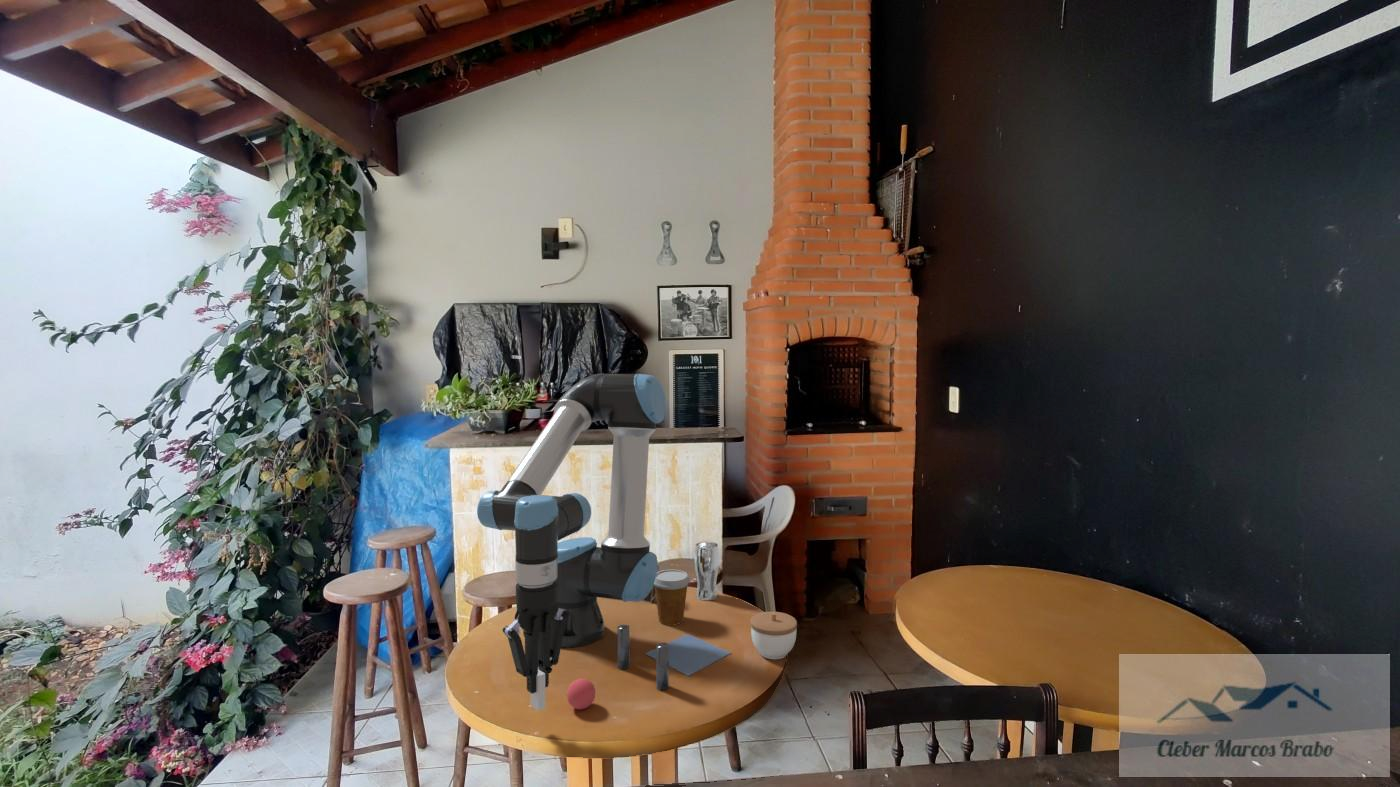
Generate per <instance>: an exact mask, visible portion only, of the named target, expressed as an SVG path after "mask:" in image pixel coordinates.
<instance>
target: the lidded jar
mask: <svg viewBox="0 0 1400 787" xmlns="http://www.w3.org/2000/svg"><path fill="white" fill-rule="evenodd" d="M749 621H750V634H751V640H752V643H753V646H754V647H755V649H756V651H758V652H759V653H760V655H761V656H762V657H763V658H764V659H768V660H781V659H784V658H785V657H786V656H787V655H788V654H789V653H790V652H791V651H792V650H793V648H794V646H795V642H796V639H797V628H798V621H797V618H795V617H794V616H792V615H790V614H788V613H786V612H780V611H763V612H758V613H756V614H754V615H753V616H752V617H751V618H750V620H749Z"/></svg>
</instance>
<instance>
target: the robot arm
mask: <svg viewBox="0 0 1400 787" xmlns="http://www.w3.org/2000/svg"><path fill="white" fill-rule="evenodd" d="M666 404H667V403H666V396H665V391H664V388H663V385H662V384H661V382H660V380H659V379H658V377H656V376H654V375H651V374H644V373H597V374H596V373H595V374H591V375H589V376H587V377H585V378H583V379H581V380H579V381H578V382H576V383H575V384H573V386H571V387H570V388H569V389H567V390H566V392H565V393H563V395H562V396H561V397H560V398H559V399H558V401H557V402H556V404H554V407H553V415H552V417H551V418H550V419H549V421H548V423H547V424H546V425H545V427H544V428H543V429H542V430H541V432H540V434H539V436H537V438H536V439H535V441H534V442H533V444H532V445H531V447H530V448H529V449H528V451H527V453H526V454H525V455H524V456H523V459H522V460H521V461H520V462H519V464H518V465H517V467H516V468H515V469H514V471H513V472H512V474H510V477H508V479H507V481H506V483H505V484H504V485H503V487H502V488H501V490H490V491H487V492H486V493H483V495H481V497H480V498H479V501H478V503H477V510H476V514H477V518H478V520H479V522H480V524H481V526H483V527H486V528H490V529H495V530H498V531H503V530H504V531H513V532H514V536H515V537H514V538H515V575H514V576H515V578H514V579H515V580H514V581H515V582H516V584H515V605H516V612H515V615H514V620H513V621H512V623H510V625H505V626H503V628H502V632H503V634H504V635H505V636H506V637H507V639H508V643H509V647H510V650H511V655H512V659H513V663H514V666H515V671H516V673H517V674H520V675H521V677H524V678H526V690H527V692H528V693H529V695H530V697H529V699H530V700H529V701H530V702H529V704H530V706H531V707H532V708H534V709H535V710H536V711H537V712H539V711H542V710H544V709H546V689H547V688H548V686H549V683H550V682H549V681H550V680H549V676H550V674H551V673H552V672H553V668H552V667H553V666H557V664H558V663H559V658H560V655H561V654H560V653H561V649H562V648H572V647H573V648H575V647H581V646H585V645H589V644H592V643H593V642H596V641H598V640H599V639H601V637H603V635H604V634H605V621H604V618H603V615H602V614H603V613H602V612H601V609H600V607H599V603H598V598H601V599H609V600H615V601H622V602H624V603H625V602H626V603H627V602H635V603H640V602H643V601H642V600H644V599H645V598H646V597H647V596H648V594H649V593H650V591H651V589H652V587H653V584H654V582H655V578H656V574H657V568H658V566H659V563H658V562H659V561H658V556H657V554H656V553H654V552H653V551H650V549H651V548H650V547H651V542H649V540H648V539H647V538H646V537H645V525H646V524H645V523H646V522H645V521H646V504H647V487H648V486H647V485H648V483H647V482H648V464H649V446H650V436H652V435H653V434H654V432H656V430H657V424H659V423H661V422H662V421H663V420H664V419H665V414H666V410H667V409H666V408H667V407H666V406H667V405H666ZM596 421H604V422H605V421H606V422H607V429H608V430H609V431H610V432H611V434H612V435H613V441H612V442H613V445H612V461H611V462H612V464H611V480H610V482H611V483H610V498H609V513H608V514H609V515H608V532H607V533H608V534H607V536H606V537H605V538H604V539H603V540H601V543H600V544H601V546H600V547H599V546H597V545H598V542H597V540H596V539H595V538H593V537H589V536H588V537H586V536H582V537H575V538H570V539H566V540H563V539H565V538H566V537H568V536H570V535H573V534H575V533H578V532H580V530H582V529H583V528H584V527H586V525H588V523H589V522H590V520H591V516H592V507H591V505H590V503H589V501H588V499H587V498H586V496H584V495H583V494H580V493H577V492H573V493H565V494H563V495H562V496H559V495H549V494H543V493H544V491H545V489H546V487H547V486H548V484H549V483H550V481H551V480H552V478H553V477H554V475H555V474H556V472H557V470H558V469H559V467H560V465H561V464H562V463H563V461H564V460H565V458H566V457H567V454H568V453H569V452H570V450H571V448H572V447H573V445H574V444H575V442H576V440H577V439H578V437H579V436H580V434H581V433H582V432H584V431H587V430H588V429H589V428H590V426H591V425H592V423H595V422H596ZM560 540H562V541H560ZM558 541H559V542H558ZM520 628H521V630H522V631H523V632H522V633H523V637H524V644H523V641H522V638H521V636H520V635H521V630H520Z"/></svg>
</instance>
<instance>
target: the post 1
mask: <svg viewBox="0 0 1400 787" xmlns="http://www.w3.org/2000/svg"><path fill="white" fill-rule="evenodd" d="M629 668H630V625H627V624H620V625H618V626H617V669H619V670H621V671H622V670H628V669H629Z"/></svg>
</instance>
